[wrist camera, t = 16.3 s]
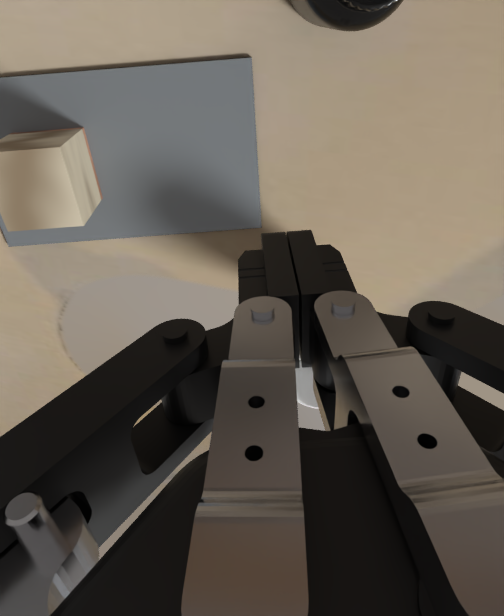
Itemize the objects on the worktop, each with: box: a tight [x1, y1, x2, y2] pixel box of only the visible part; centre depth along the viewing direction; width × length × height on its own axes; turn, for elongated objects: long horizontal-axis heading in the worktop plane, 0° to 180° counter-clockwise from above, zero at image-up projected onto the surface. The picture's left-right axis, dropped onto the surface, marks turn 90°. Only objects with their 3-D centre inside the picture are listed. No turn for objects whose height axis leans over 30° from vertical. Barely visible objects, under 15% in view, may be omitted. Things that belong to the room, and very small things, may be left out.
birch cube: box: [0, 127, 103, 232], centre depth 35 cm, size 6×6×6 cm
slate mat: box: [0, 57, 262, 247], centre depth 38 cm, size 24×14×1 cm, turn 94°
